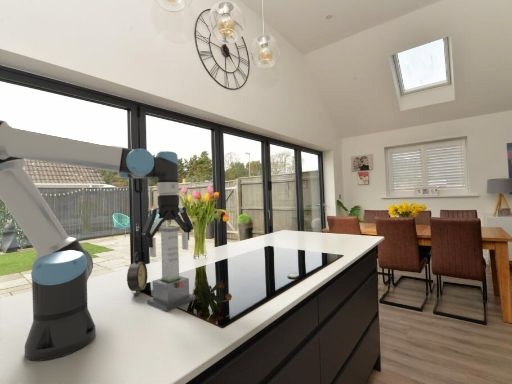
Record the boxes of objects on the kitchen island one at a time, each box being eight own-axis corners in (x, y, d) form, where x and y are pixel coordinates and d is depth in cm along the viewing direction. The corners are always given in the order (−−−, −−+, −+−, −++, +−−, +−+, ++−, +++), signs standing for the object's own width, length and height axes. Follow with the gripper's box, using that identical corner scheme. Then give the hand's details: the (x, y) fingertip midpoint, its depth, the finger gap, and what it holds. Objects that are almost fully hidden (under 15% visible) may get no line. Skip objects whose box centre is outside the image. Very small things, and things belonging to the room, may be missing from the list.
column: (170, 283, 92) (169, 228, 92) (160, 280, 96) (158, 228, 96) (181, 280, 96) (179, 227, 96) (170, 277, 100) (169, 226, 100)
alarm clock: (139, 297, 101) (138, 255, 101) (124, 298, 101) (123, 255, 101) (148, 287, 112) (147, 249, 112) (135, 288, 112) (134, 249, 112)
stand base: (166, 311, 87) (166, 287, 87) (147, 303, 95) (146, 281, 95) (195, 299, 97) (194, 277, 97) (175, 293, 104) (174, 272, 104)
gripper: (141, 194, 84) (143, 261, 84) (201, 193, 104) (203, 247, 104) (129, 195, 89) (131, 258, 88) (189, 194, 108) (190, 245, 108)
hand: (170, 252), depth 96 cm, fingers open, 13 cm apart
